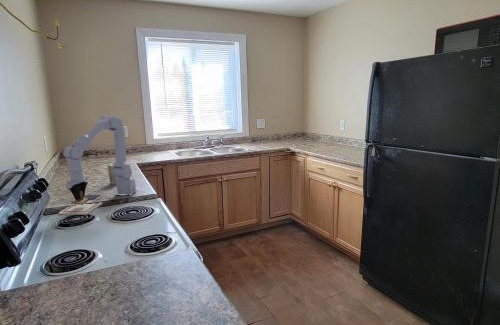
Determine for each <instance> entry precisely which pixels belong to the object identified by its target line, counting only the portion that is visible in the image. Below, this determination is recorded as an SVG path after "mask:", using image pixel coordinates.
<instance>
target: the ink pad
mask: <svg viewBox="0 0 500 325" xmlns="http://www.w3.org/2000/svg"><path fill="white" fill-rule="evenodd" d="M99 196H102V195H101V194H87V195H85V196H84V197H83V198H88V200H94V199H96V198H97V197H99ZM102 197H103V196H102Z"/></svg>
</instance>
